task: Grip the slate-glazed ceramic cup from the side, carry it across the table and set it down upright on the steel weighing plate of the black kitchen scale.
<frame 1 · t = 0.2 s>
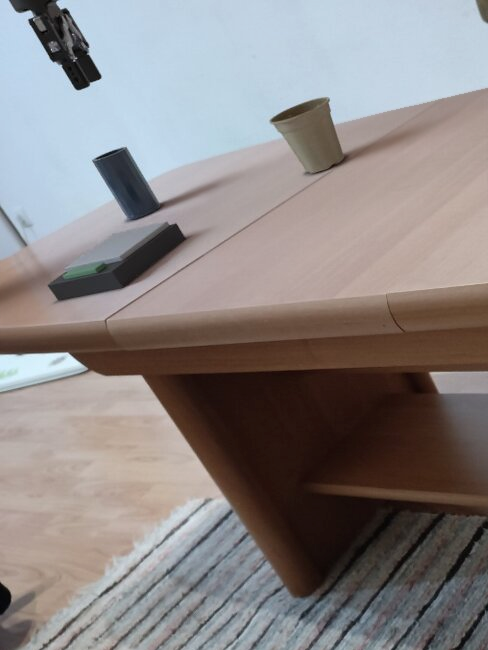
hand: (90, 84, 134), 20 cm above the table, tool pointing down, fingers open, 8 cm apart
flower pot: (327, 166, 133), on the table
scale: (123, 268, 120), on the table
cup: (144, 212, 145), on the table
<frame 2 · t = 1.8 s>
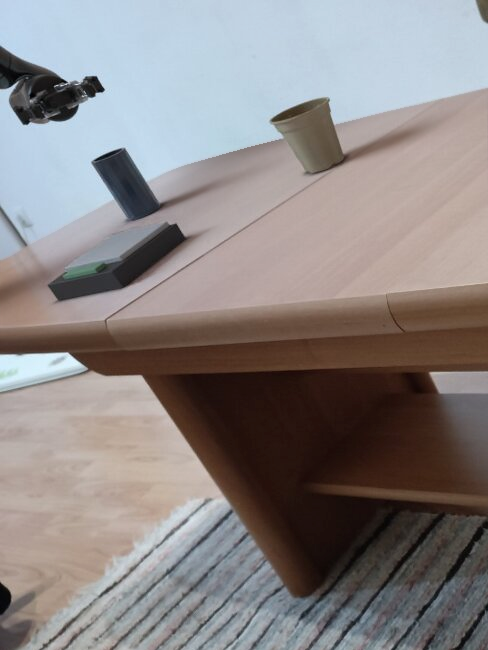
hand: (65, 101, 142), 18 cm above the table, tool horizontal, fingers open, 8 cm apart
nothing on the table moved.
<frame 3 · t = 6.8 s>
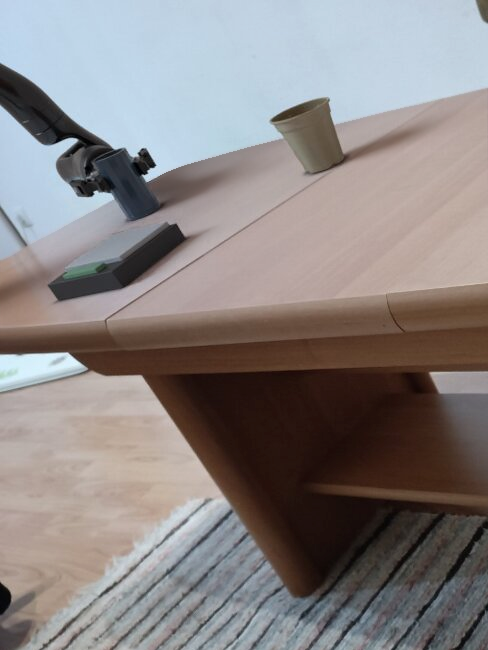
hand: (124, 176, 139), 7 cm above the table, tool horizontal, fingers closed on cup, 5 cm apart
cup: (144, 212, 145), on the table, touching gripper
everything else where it was.
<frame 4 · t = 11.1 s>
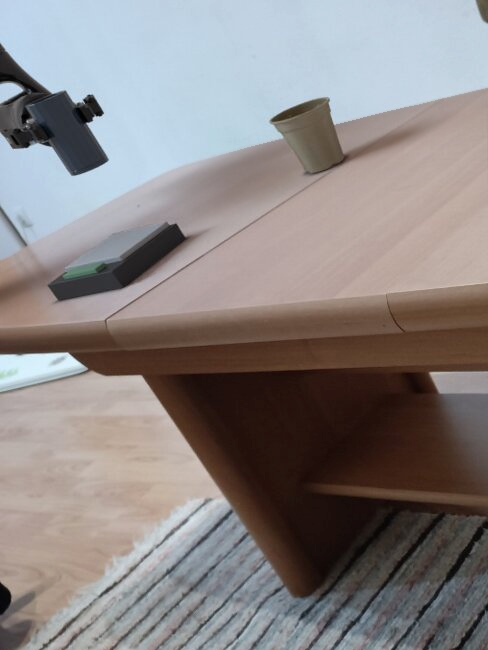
hand: (64, 123, 120), 18 cm above the table, tool horizontal, fingers closed on cup, 5 cm apart
cup: (90, 167, 125), point 11 cm above the table, touching gripper
everything else where it was.
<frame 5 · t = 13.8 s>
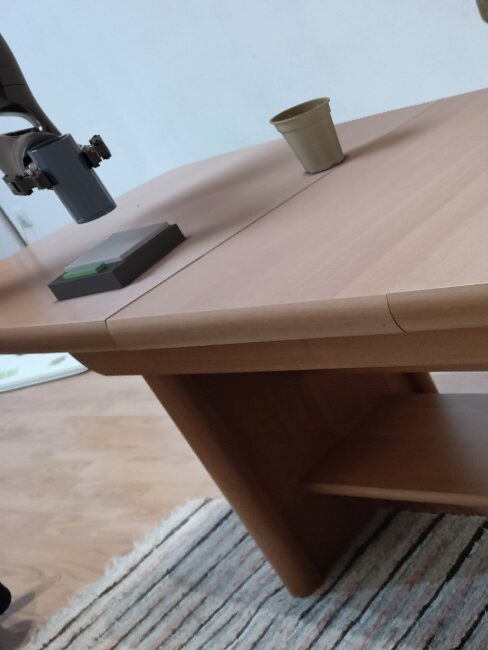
hand: (69, 170, 111), 14 cm above the table, tool horizontal, fingers closed on cup, 5 cm apart
cup: (97, 214, 117), point 7 cm above the table, touching gripper
everything else where it was.
when the fingers open (10 cm above the table, at t = 15.6 s): cup stays where it is, resting on scale.
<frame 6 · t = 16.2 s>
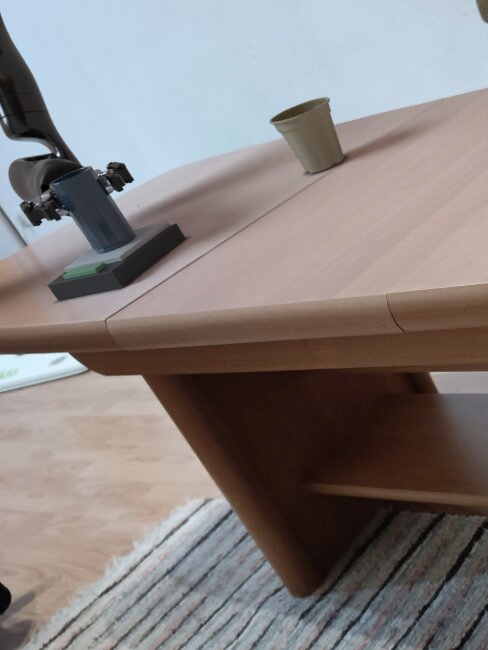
hand: (86, 198, 114), 10 cm above the table, tool horizontal, fingers open, 8 cm apart
cup: (116, 244, 119), point 3 cm above the table, touching scale
everything else where it was.
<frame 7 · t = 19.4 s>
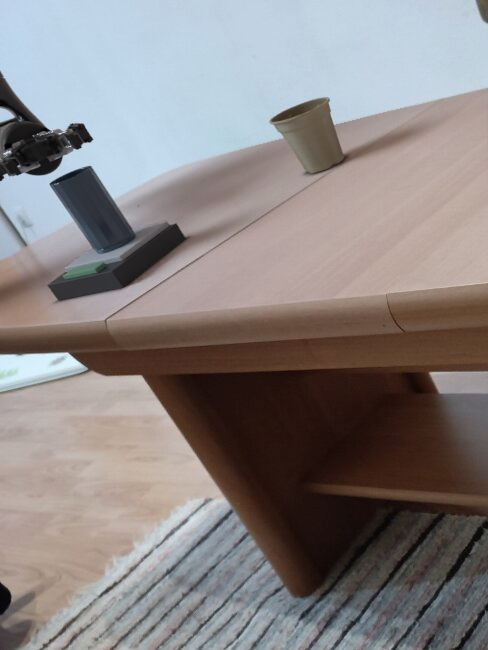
hand: (45, 154, 120), 15 cm above the table, tool horizontal, fingers open, 8 cm apart
nothing on the table moved.
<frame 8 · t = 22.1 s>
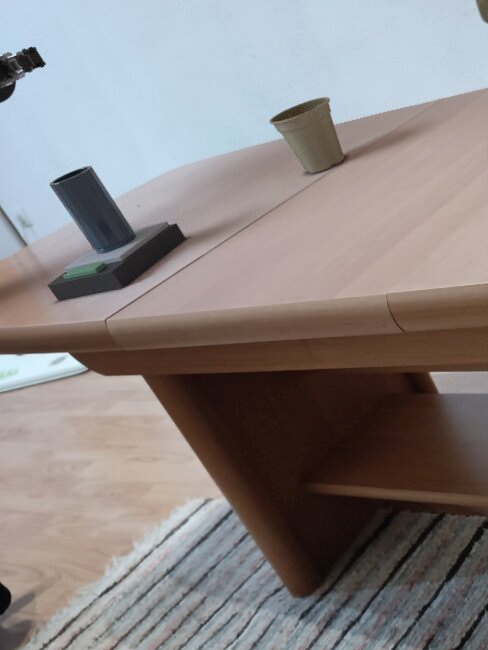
nothing on the table moved.
at the end: cup inside the target area on the scale (0.1 cm from its centre), point 3.1 cm above the scale's base; cup tilted 0°; the gripper is holding nothing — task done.
